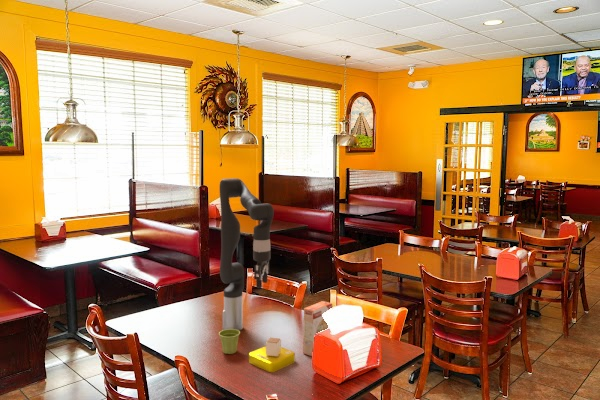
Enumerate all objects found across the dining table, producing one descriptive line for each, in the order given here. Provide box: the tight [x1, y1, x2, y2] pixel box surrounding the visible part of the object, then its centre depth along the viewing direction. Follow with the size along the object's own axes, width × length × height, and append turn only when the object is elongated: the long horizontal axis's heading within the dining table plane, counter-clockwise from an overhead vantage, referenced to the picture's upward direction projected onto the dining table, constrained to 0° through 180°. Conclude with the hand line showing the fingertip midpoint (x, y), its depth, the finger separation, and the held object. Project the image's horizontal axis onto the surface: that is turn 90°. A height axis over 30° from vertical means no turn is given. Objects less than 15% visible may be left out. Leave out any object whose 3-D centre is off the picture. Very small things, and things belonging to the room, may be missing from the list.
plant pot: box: [218, 329, 241, 355], centre depth 216 cm, size 9×9×9 cm
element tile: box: [248, 345, 296, 373], centre depth 206 cm, size 15×15×5 cm
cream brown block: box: [265, 337, 282, 356], centre depth 204 cm, size 5×5×6 cm
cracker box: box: [302, 300, 333, 357], centre depth 216 cm, size 14×6×21 cm, turn 140°
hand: (262, 285), depth 214 cm, fingers open, 8 cm apart
